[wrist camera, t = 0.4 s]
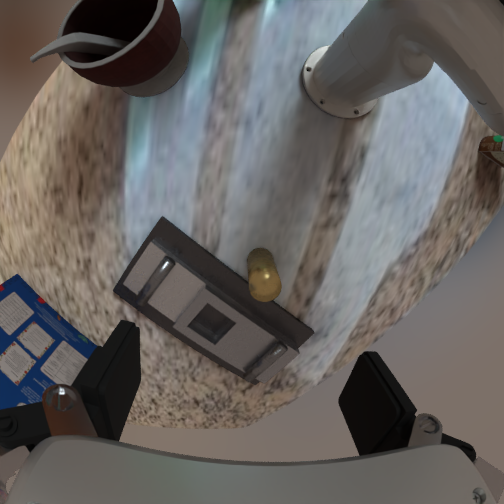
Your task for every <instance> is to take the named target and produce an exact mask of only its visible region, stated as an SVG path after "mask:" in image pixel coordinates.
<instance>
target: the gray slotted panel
mask: <svg viewBox="0 0 504 504" xmlns="http://www.w3.org/2000/svg"><path fill="white" fill-rule="evenodd" d="M113 291H114V292H115V293H116V294H117V295H119V296H120V297H121V298H123V299H124V300H125V301H126V302H128V303H129V304H130V305H132V306H133V307H134V308H136V309H137V310H138V311H140V312H141V313H142V314H144V315H145V316H146V317H148V318H149V319H151V320H152V321H153V322H155V323H156V324H158V325H159V326H160V327H162V328H163V329H165V330H166V331H168V332H169V333H171V334H172V335H174V336H175V337H176V338H178V339H179V340H181V341H182V342H184V343H186V344H187V345H189V346H190V347H192V348H193V349H195V350H196V351H198V352H200V353H201V354H203V355H204V356H206V357H208V358H209V359H211V360H212V361H214V362H216V363H217V364H219V365H221V366H222V367H224V368H226V369H227V370H229V371H231V372H233V373H234V374H236V375H238V376H240V377H241V378H243V379H245V380H246V381H247V382H250V383H252V384H254V385H256V384H257V383H259V382H260V381H261V382H262V383H264V384H265V383H266V382H267V381H268V380H269V379H271V378H272V377H273V376H274V375H275V374H277V373H278V372H279V371H280V370H281V369H282V368H284V367H285V366H286V365H287V364H288V363H289V362H291V361H292V360H293V359H294V358H295V357H296V356H297V355H298V354H300V353H299V349H298V348H299V347H300V346H301V345H302V344H303V343H304V342H305V341H306V340H307V339H309V338H310V337H311V336H312V335H313V334H314V331H313V330H312V329H311V328H310V327H308V326H307V325H305V324H304V323H303V322H301V321H300V320H299V319H297V318H296V317H294V316H293V315H292V314H290V313H289V312H288V311H286V310H285V309H284V308H282V307H281V306H280V305H278V304H277V303H275V302H274V301H273V300H271V301H268V302H262V301H258V300H256V299H255V298H253V297H252V295H251V294H250V291H249V282H247V281H246V280H245V279H243V278H242V277H241V276H239V275H238V274H237V273H235V272H234V271H233V270H231V269H230V268H229V267H228V266H226V265H225V264H224V263H222V262H221V261H220V260H218V259H217V258H216V257H215V256H213V255H212V254H211V253H209V252H208V251H207V250H205V249H204V248H203V247H202V246H200V245H199V244H198V243H196V242H195V241H194V240H193V239H191V238H190V237H189V236H187V235H186V234H185V233H184V232H182V231H181V230H180V229H179V228H177V227H176V226H175V225H173V224H172V223H171V222H170V221H168V220H167V219H166V218H165V217H163V216H162V217H161V218H160V220H159V221H158V222H157V224H156V225H155V227H154V228H153V230H152V231H151V232H150V234H149V235H148V237H147V238H146V240H145V241H144V243H143V244H142V246H141V247H140V249H139V250H138V252H137V253H136V255H135V256H134V258H133V259H132V261H131V262H130V264H129V265H128V267H127V269H126V270H125V272H124V273H123V275H122V276H121V278H120V280H119V281H118V283H117V285H116V286H115V288H114V289H113Z"/></svg>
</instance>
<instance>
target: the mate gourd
mask: <svg viewBox="0 0 504 504" xmlns="http://www.w3.org/2000/svg"><path fill="white" fill-rule="evenodd" d="M55 53H58V54H59V55H60V57H61V59H62V60H63V61H64V62H65V63H66V64H68V65H69V66H70V67H71V68H72V69H73V70H74V71H75V72H76V73H77V74H79V75H80V76H82V77H84V78H86V79H88V80H90V81H92V82H94V83H96V84H101V85H105V86H111V87H120V88H121V89H122V90H123V91H124V92H126V93H128V94H130V95H132V96H136V97H150V96H154V95H157V94H160V93H162V92H164V91H166V90H168V89H169V88H170V87H172V86H173V85H174V84H175V83H176V82H177V81H178V80H179V79H180V78H181V76H182V75H183V74H184V72H185V70H186V68H187V64H188V61H189V52H188V47H187V45H186V43H185V41H184V40H183V39H182V37H181V24H180V17H179V13H178V11H177V9H176V7H175V4H174V2H173V0H78V1H77V2H76V3H75V4H74V6H73V7H72V8H71V9H70V11H69V12H68V13H67V15H66V16H65V18H64V20H63V22H62V24H61V26H60V29H59V32H58V37H57V40H55V41H53V42H52V43H50V44H49V45H47V46H45V47H44V48H42V49H41V50H40V51H39V52H37V53H36V54H35V55H33V56H32V57H31V58H30V59H31V61H32V62H35V61H37V59H39V58H42V57H45V56H47V55H51V54H55Z"/></svg>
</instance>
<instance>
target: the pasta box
mask: <svg viewBox="0 0 504 504" xmlns="http://www.w3.org/2000/svg"><path fill="white" fill-rule="evenodd" d="M96 347H97V345H95V344H94V343H93V342H91V341H90V340H89V339H88V338H86V337H85V336H84V335H83V334H81V333H80V332H79V331H78V330H77V329H75V328H74V327H73V326H72V325H71V324H69V323H68V322H67V321H66V320H65V319H64V318H63V317H61V316H60V315H59V314H58V313H57V312H56V311H55V310H54V309H53V308H51V307H50V306H49V305H48V304H47V303H46V302H45V301H44V300H43V299H42V298H41V297H40V296H39V295H38V294H37V293H36V292H35V291H34V290H33V289H32V288H31V287H30V286H29V285H28V284H27V283H26V282H25V281H24V280H23V279H22V278H21V277H20V276H19V275H18V274H16V275H15V276H13V277H12V278H10V279H9V280H7V281H5V282H4V283H2V284H1V285H0V410H1V409H6V408H11V407H16V406H22V405H27V404H31V403H36V402H40V401H42V395H43V392H44V391H45V390H46V389H47V388H48V387H50V386H52V385H55V384H66V385H70V386H71V384H72V383H73V381H74V380H75V378H76V377H77V375H78V373H79V372H80V370H81V369H82V367H83V366H84V364H85V363H86V361H87V360H88V358H89V357H90V355H91V354H92V353H93V351H94V350H95V348H96Z"/></svg>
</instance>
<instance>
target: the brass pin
mask: <svg viewBox="0 0 504 504" xmlns="http://www.w3.org/2000/svg"><path fill="white" fill-rule="evenodd" d="M247 264H248V280H249V291H250V294H251V295H252V297H253V298H255V299H256V300H258V301H262V302H268V301H271V300H273V299H275V298H276V297H277V296H278V295H279V294H280V292H281V288H282V285H281V281H280V278H279V275H278V272H277V269H276V266H275V263H274V260H273V257H272V254H271V253H270V252H269V251H268V250H267V249H264V248H257V249H254V250H253V251H251V252H250V254H249V255H248V258H247Z"/></svg>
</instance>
